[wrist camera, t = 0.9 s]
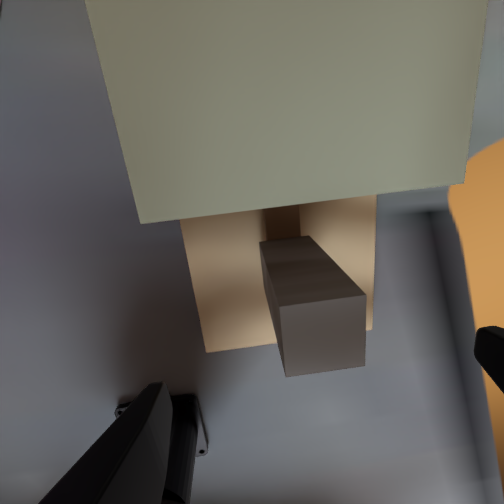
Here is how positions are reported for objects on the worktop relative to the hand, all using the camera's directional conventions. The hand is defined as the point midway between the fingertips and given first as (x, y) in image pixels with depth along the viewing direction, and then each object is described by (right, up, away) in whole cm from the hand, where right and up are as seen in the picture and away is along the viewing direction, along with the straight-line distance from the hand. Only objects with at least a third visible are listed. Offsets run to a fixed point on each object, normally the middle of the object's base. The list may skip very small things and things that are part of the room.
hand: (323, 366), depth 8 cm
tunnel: (-1, +10, +7) cm, 13 cm away
